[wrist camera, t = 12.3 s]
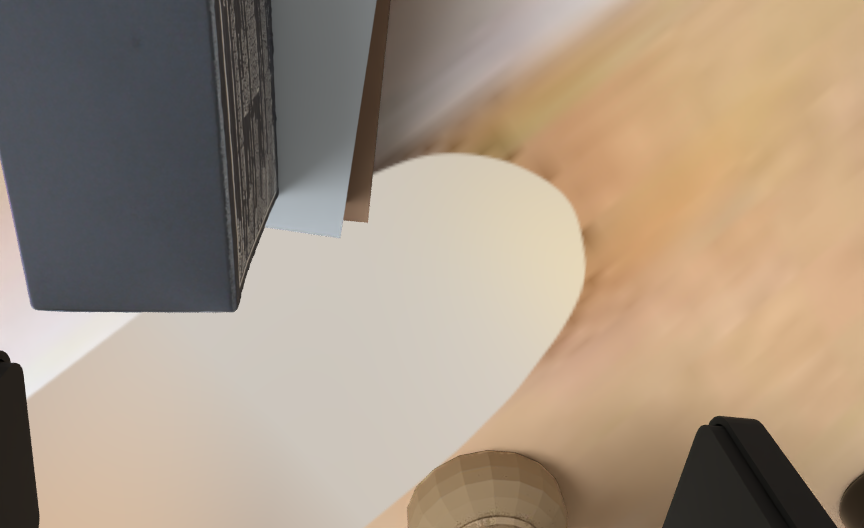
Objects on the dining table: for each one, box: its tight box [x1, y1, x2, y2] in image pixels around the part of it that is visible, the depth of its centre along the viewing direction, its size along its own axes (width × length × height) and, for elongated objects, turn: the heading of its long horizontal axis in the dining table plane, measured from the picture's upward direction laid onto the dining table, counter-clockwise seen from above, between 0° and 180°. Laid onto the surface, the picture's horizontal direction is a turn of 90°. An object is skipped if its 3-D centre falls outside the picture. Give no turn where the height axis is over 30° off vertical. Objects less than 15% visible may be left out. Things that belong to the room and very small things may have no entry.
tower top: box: [265, 0, 377, 238], centre depth 31 cm, size 13×13×4 cm
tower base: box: [343, 0, 390, 222], centre depth 35 cm, size 15×15×4 cm
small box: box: [0, 0, 279, 312], centre depth 24 cm, size 11×6×10 cm, turn 178°
